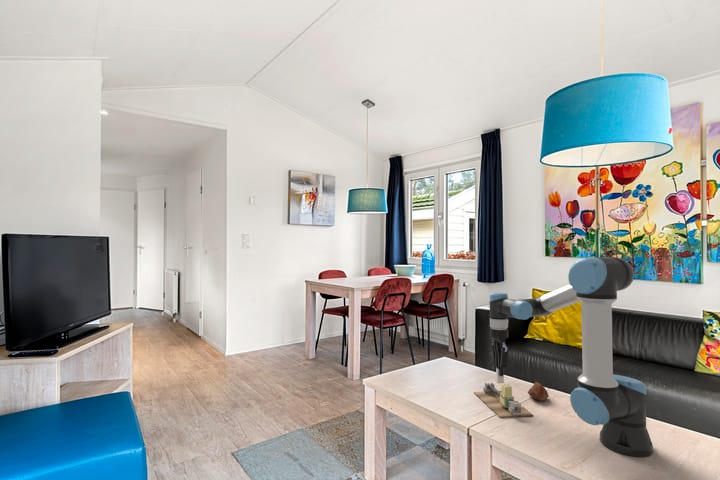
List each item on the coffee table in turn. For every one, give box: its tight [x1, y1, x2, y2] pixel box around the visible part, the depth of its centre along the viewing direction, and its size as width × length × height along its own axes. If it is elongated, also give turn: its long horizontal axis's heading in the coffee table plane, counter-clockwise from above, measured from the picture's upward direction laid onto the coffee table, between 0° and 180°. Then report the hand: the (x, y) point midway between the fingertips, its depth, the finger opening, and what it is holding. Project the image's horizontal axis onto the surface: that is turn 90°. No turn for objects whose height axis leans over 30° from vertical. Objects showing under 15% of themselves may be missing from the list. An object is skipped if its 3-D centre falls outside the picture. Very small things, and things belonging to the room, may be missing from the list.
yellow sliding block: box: [500, 383, 515, 408], centre depth 166 cm, size 4×4×8 cm
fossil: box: [527, 381, 550, 402], centre depth 177 cm, size 13×8×10 cm
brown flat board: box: [473, 382, 534, 419], centre depth 170 cm, size 26×14×5 cm, turn 6°
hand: (500, 382), depth 172 cm, fingers closed
